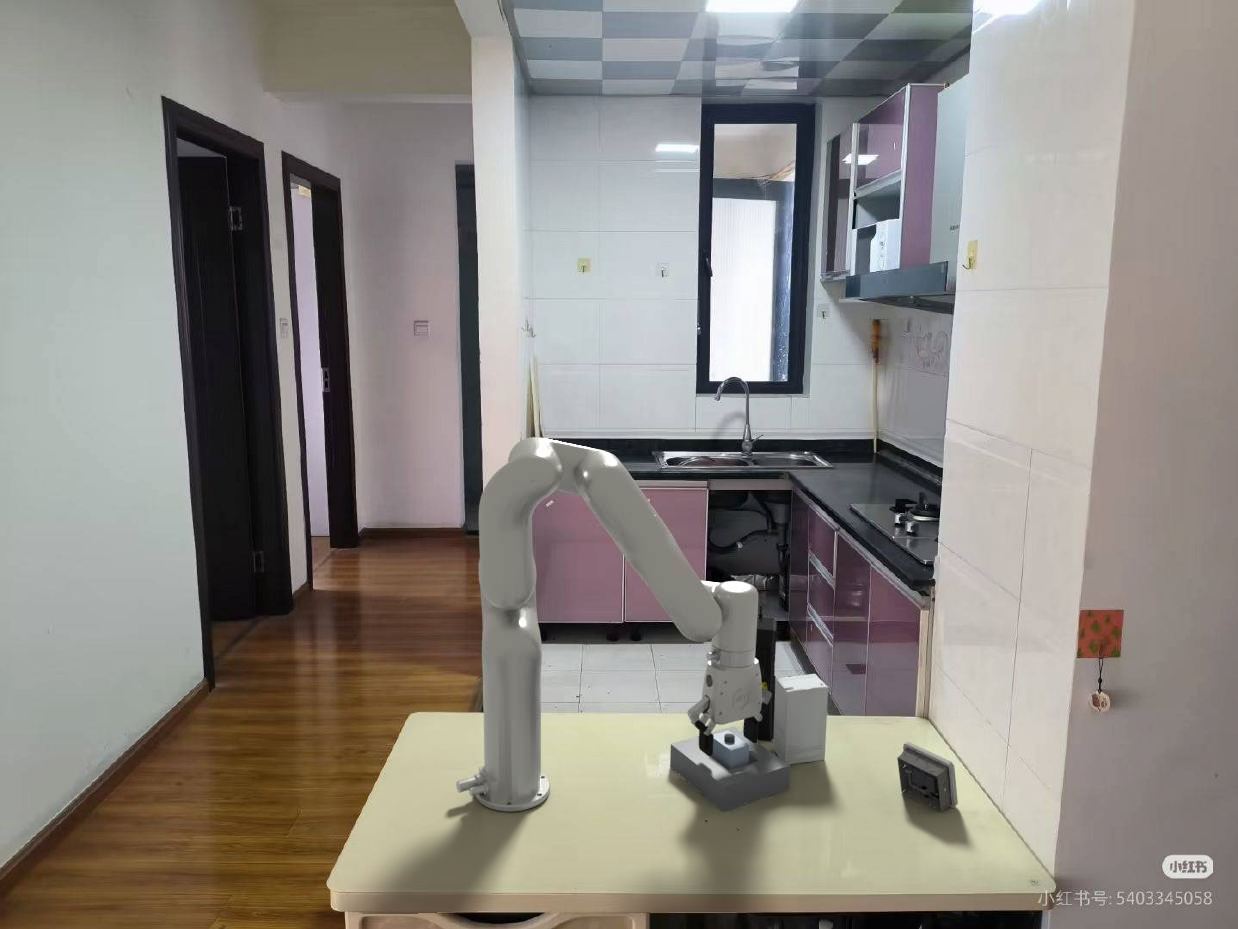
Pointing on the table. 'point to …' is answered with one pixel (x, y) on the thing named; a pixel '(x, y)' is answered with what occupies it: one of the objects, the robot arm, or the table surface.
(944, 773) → the electrical switch
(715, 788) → the socket block
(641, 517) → the robot arm
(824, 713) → the skincare box
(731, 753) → the plug
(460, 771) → the table surface
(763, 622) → the portable radio
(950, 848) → the table surface
